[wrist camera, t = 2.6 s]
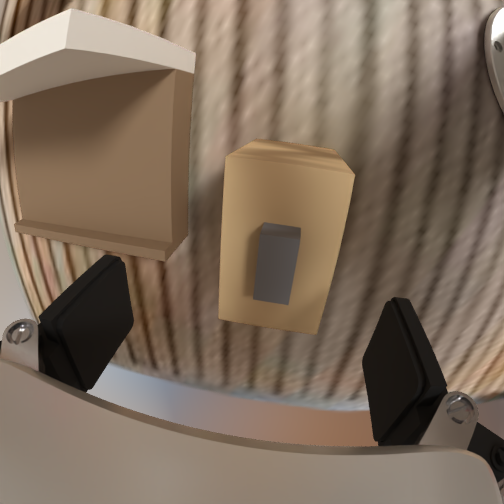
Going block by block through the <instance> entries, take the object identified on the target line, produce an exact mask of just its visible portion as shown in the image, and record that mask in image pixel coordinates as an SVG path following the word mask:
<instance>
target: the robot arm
mask: <svg viewBox="0 0 504 504" xmlns="http://www.w3.org/2000/svg"><path fill="white" fill-rule="evenodd" d="M484 49H485V57H486V64H487V68H488V72H489V77H490V80H491V83H492V86H493V89H494V93H495V95H496V97H497V100H498V102H499V105H500V107H501V109H502V111H503V113H504V6H502V7H500V8H498V9H496V10H495V11H494V12H493V13H492V14H491V15H490V17H489V19H488V21H487V24H486V29H485V34H484ZM39 319H40V322H41V323H40V324H39V325H37V324H36V322H35V321H33V320H31V319H20V320H17V321H15V322H13V323H11V324H10V325H9V326H8V327H7V328H6V329H5V331H4V333H3V337H2V341H0V504H504V440H503V439H502V438H500V437H499V436H497V435H496V434H494V433H493V432H491V431H490V430H488V429H487V428H485V427H484V426H482V425H481V424H480V423H478V422H477V420H478V415H479V413H478V408H477V406H476V403H475V402H474V401H473V399H472V398H471V397H469V396H468V395H467V394H465V393H462V392H458V391H453V392H449V393H448V391H447V389H446V386H447V384H446V381H445V379H444V376H443V373H442V371H441V368H440V366H439V364H438V361H437V359H436V356H435V354H434V352H433V349H432V347H431V345H430V343H429V340H428V338H427V336H426V334H425V331H424V329H423V327H422V325H421V323H420V321H419V319H418V317H417V314H416V312H415V310H414V308H413V306H412V304H411V302H410V300H409V299H406V298H397V297H393V298H392V299H391V301H387V302H386V304H385V306H384V309H383V311H382V314H381V316H380V319H379V321H378V324H377V326H376V328H375V331H374V333H373V336H372V338H371V340H370V342H369V345H368V347H367V349H366V351H365V354H364V356H363V360H362V366H363V372H364V377H365V383H366V389H367V395H368V402H369V408H370V415H371V422H372V429H373V437H374V440H375V441H378V446H371V447H350V446H316V445H301V444H289V443H279V442H271V441H263V440H256V439H249V438H242V437H237V436H231V435H225V434H220V433H215V432H210V431H206V430H201V429H197V428H193V427H189V426H184V425H181V424H176V423H173V422H169V421H166V420H162V419H159V418H155V417H152V416H149V415H145V414H142V413H139V412H136V411H133V410H130V409H127V408H124V407H121V406H118V405H116V404H113V403H110V402H108V401H105V400H102V399H100V398H98V397H95V396H93V395H90V394H88V393H86V392H87V390H88V389H89V390H90V389H92V388H93V386H94V385H95V383H96V382H97V380H98V379H99V377H100V375H101V374H102V372H103V371H104V369H105V368H106V366H107V365H108V363H109V361H110V360H111V358H112V357H113V355H114V354H115V352H116V351H117V349H118V348H119V346H120V345H121V343H122V342H123V340H124V339H125V337H126V336H127V334H128V333H129V331H130V330H131V328H132V326H133V323H134V318H133V313H132V307H131V301H130V295H129V289H128V282H127V275H126V268H125V263H124V262H123V261H122V260H121V258H120V257H117V256H112V255H104V256H103V257H102V258H100V259H99V260H98V261H97V262H96V263H95V264H94V265H92V266H91V267H90V268H89V269H88V270H87V271H86V272H85V273H84V274H82V275H81V276H80V277H79V278H78V279H77V280H76V281H75V282H74V283H73V284H72V285H70V286H69V287H68V288H67V289H66V290H65V291H64V292H63V293H62V294H61V295H60V296H59V297H58V298H57V299H56V300H55V301H54V302H53V303H52V304H51V305H50V306H49V307H48V308H47V309H46V310H45V311H44V312H43V313H42V314H41V315H40V316H39Z"/></svg>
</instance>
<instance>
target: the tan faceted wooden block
mask: <svg viewBox="0 0 504 504" xmlns="http://www.w3.org/2000/svg"><path fill="white" fill-rule="evenodd" d="M354 178H355V174H354V173H353V172H352V170H351V169H350V168H349V167H348V165H347V164H346V163H345V162H344V161H343V159H342V158H341V157H340V156H339V155H338V154H337V152H336V151H335V150H333V149H327V148H321V147H315V146H309V145H302V144H295V143H288V142H280V141H272V140H263V139H255V140H253V141H252V142H250V143H248V144H246V145H245V146H243V147H241V148H239V149H238V150H236V151H234V152H232V153H231V154H229V155H227V156H226V158H225V173H224V190H223V208H222V228H221V251H220V278H219V312H218V319H222V320H227V321H232V322H238V323H243V324H249V325H255V326H260V327H266V328H273V329H279V330H285V331H292V332H299V333H306V334H313V335H316V334H317V331H318V328H319V324H320V321H321V318H322V314H323V311H324V307H325V304H326V300H327V296H328V293H329V289H330V285H331V282H332V278H333V274H334V270H335V266H336V262H337V258H338V254H339V250H340V245H341V241H342V237H343V232H344V228H345V223H346V219H347V214H348V209H349V204H350V199H351V194H352V189H353V184H354Z"/></svg>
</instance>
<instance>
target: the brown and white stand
mask: <svg viewBox="0 0 504 504" xmlns="http://www.w3.org/2000/svg"><path fill="white" fill-rule="evenodd" d="M195 59H196V53H194V52H192V51H190V50H188V49H186V48H183V47H181V46H179V45H177V44H175V43H172V42H170V41H168V40H165V39H163V38H160V37H158V36H155V35H153V34H150V33H148V32H145V31H143V30H140V29H137V28H135V27H132V26H129V25H126V24H123V23H120V22H117V21H114V20H111V19H108V18H105V17H102V16H98V15H95V14H92V13H88V12H84V11H80V10H77V9H73V8H71V9H68V10H66V11H64V12H61V13H59V14H57V15H54V16H52V17H50V18H48V19H46V20H44V21H42V22H40V23H38V24H36V25H34V26H32V27H30V28H28V29H26V30H24V31H22V32H20V33H19V34H17V35H15V36H13V37H12V38H10V39H8V40H6V41H5V42H3V43H2V44H0V102H4V101H10V100H13V146H14V160H15V170H16V179H17V187H18V194H19V201H20V207H21V212H22V218H23V219H22V220H20V221H19V222H17V223H15V224H14V226H15V231H16V232H19V233H23V234H28V235H33V236H37V237H42V238H47V239H52V240H56V241H61V242H66V243H71V244H76V245H81V246H86V247H91V248H96V249H101V250H106V251H111V252H117V253H122V254H127V255H132V256H138V257H143V258H149V259H154V260H159V261H166V260H167V259H168V258H169V257H170V256H171V254H172V253H173V252H174V251H175V250H176V248H177V247H178V246H179V245H180V244H181V243H182V241H183V240H184V239H185V238H186V237H187V236H188V180H189V148H190V126H191V109H192V94H193V81H194V69H195Z"/></svg>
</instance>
